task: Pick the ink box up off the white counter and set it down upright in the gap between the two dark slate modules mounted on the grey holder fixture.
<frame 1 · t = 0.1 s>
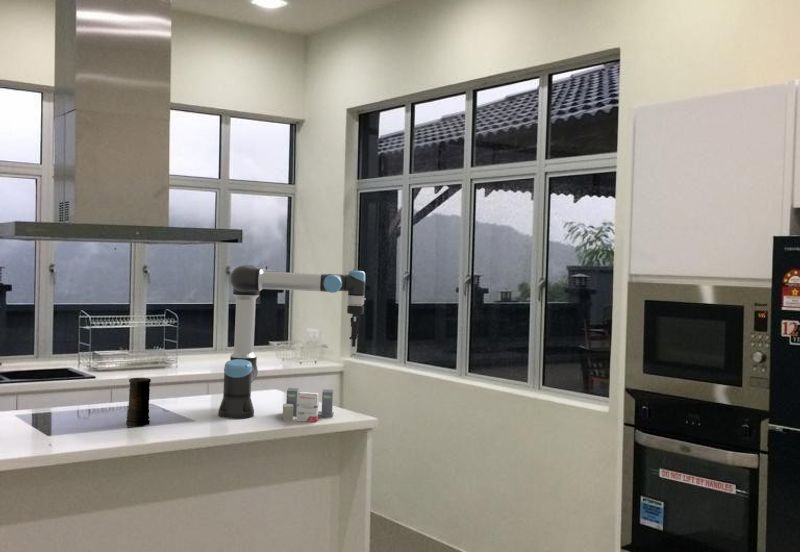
hand: (353, 352, 357), 28 cm above the countertop, fingers open, 13 cm apart
grey holder fixture: (309, 414, 351), on the countertop
container: (138, 424, 317), on the countertop
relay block: (287, 419, 341), on the countertop
ink box: (307, 420, 340), on the countertop
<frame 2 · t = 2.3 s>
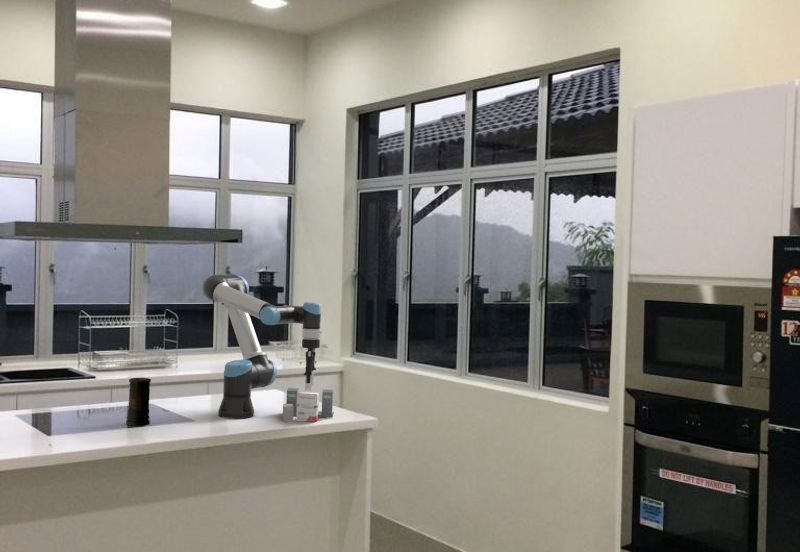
hand: (309, 388, 339), 14 cm above the countertop, fingers open, 13 cm apart
nothing on the countertop moved.
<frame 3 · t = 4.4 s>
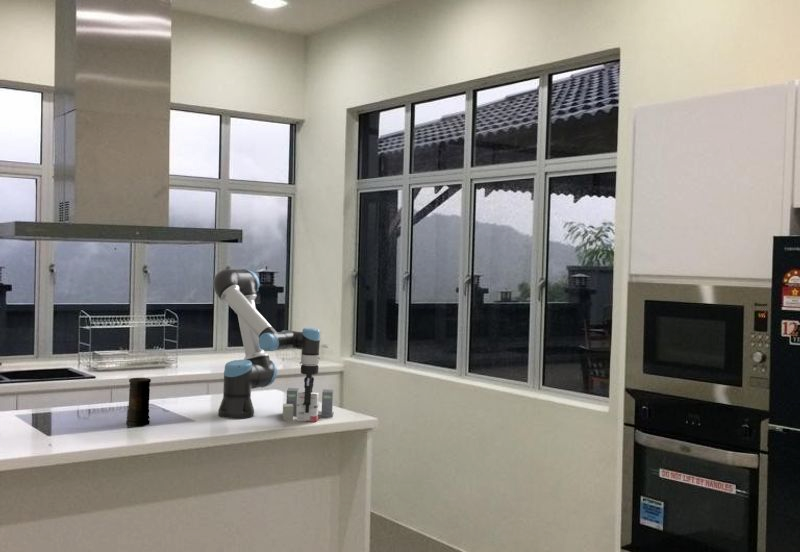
hand: (307, 418, 339), 1 cm above the countertop, fingers closed on ink box, 5 cm apart
ink box: (307, 420, 340), on the countertop, touching gripper
everything else where it was.
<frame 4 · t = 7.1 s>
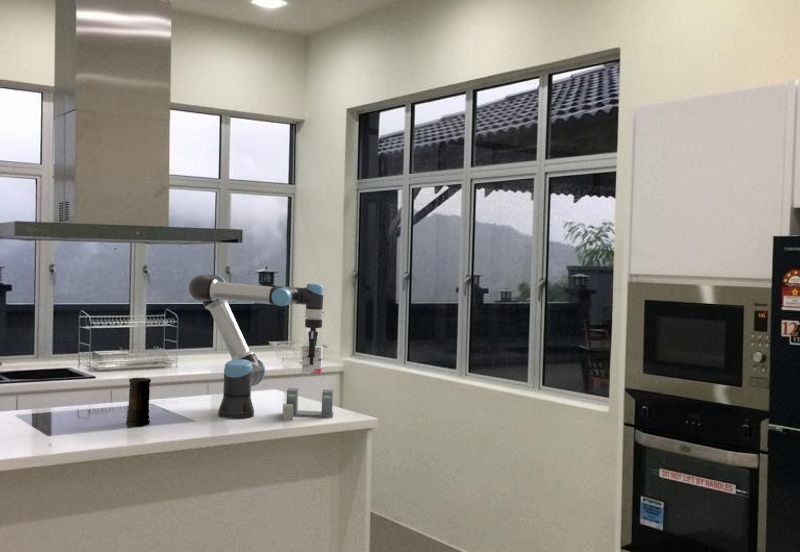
hand: (311, 371, 350), 20 cm above the countertop, fingers closed on ink box, 5 cm apart
ink box: (311, 373, 351), point 18 cm above the countertop, touching gripper
everything else where it was.
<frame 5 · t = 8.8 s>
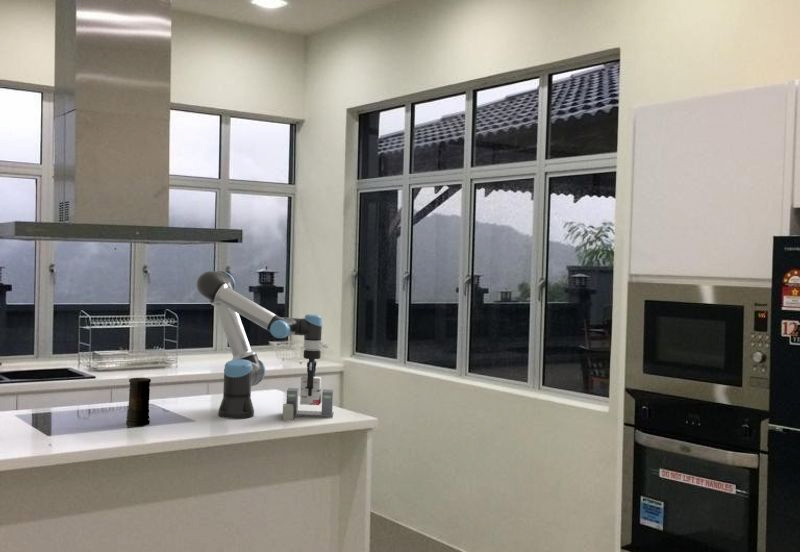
hand: (310, 401, 351), 6 cm above the countertop, fingers closed on ink box, 5 cm apart
ink box: (310, 404, 351), point 5 cm above the countertop, touching gripper
everything else where it was.
when the fingers open (3 cm above the countertop, at t = 10.0 s): ink box drops 1 cm, resting on grey holder fixture.
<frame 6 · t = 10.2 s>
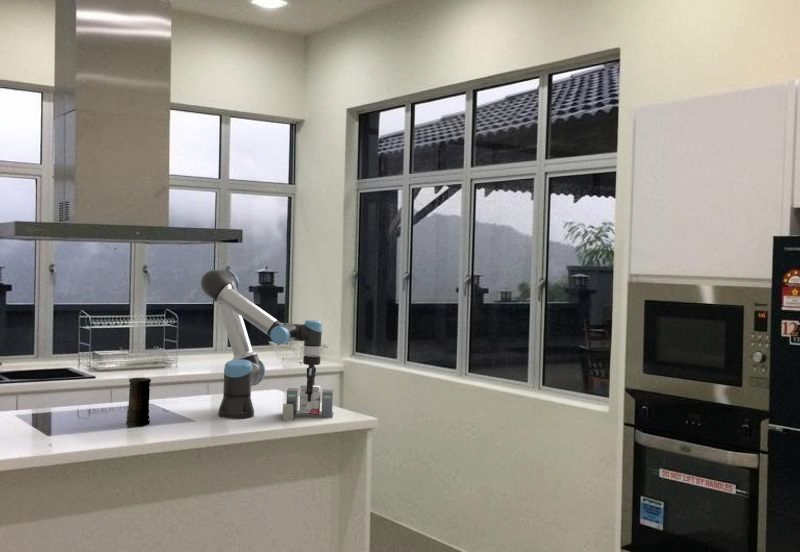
hand: (309, 406, 351), 4 cm above the countertop, fingers open, 7 cm apart
ink box: (309, 412, 351), point 1 cm above the countertop, touching grey holder fixture
everything else where it was.
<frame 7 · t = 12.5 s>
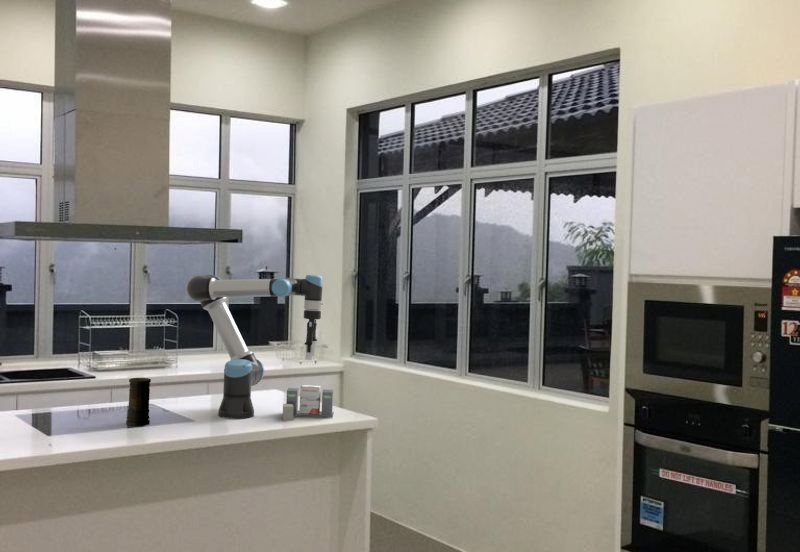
hand: (309, 357, 351), 25 cm above the countertop, fingers open, 13 cm apart
nothing on the countertop moved.
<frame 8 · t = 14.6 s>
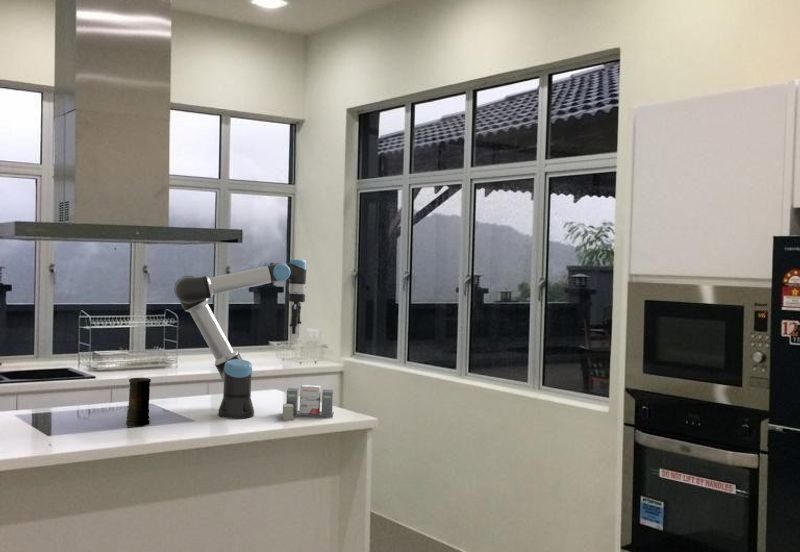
hand: (294, 339, 363), 32 cm above the countertop, fingers open, 13 cm apart
nothing on the countertop moved.
at the end: ink box inside the target area on the grey holder fixture (0.3 cm from its centre), point 0.8 cm above the grey holder fixture's base; ink box tilted 0°; the gripper is holding nothing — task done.
